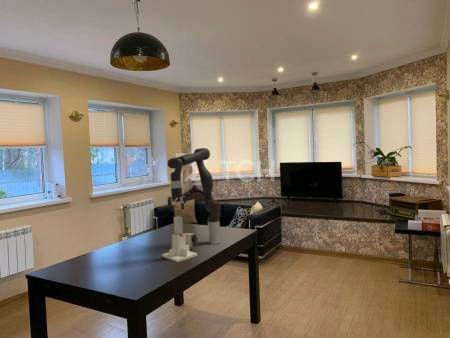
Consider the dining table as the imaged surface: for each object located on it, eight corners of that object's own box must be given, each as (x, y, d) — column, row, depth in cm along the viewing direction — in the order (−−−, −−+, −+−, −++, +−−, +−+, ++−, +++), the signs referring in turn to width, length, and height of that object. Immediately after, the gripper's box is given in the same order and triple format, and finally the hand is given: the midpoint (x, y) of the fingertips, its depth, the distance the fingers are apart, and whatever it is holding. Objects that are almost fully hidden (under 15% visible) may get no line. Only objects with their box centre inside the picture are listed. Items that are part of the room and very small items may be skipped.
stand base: (181, 250, 244) (180, 229, 244) (197, 255, 232) (196, 232, 231) (162, 256, 233) (160, 233, 232) (177, 262, 220) (176, 237, 219)
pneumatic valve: (193, 250, 244) (193, 234, 244) (181, 248, 251) (181, 232, 250) (198, 248, 249) (197, 232, 248) (186, 246, 256) (185, 230, 255)
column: (179, 243, 235) (178, 216, 234) (183, 244, 232) (182, 217, 231) (174, 245, 232) (173, 217, 231) (178, 246, 229) (177, 218, 228)
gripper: (181, 185, 238) (182, 208, 239) (164, 188, 228) (165, 211, 229) (187, 186, 232) (189, 209, 233) (171, 188, 222) (172, 212, 223)
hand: (177, 210), depth 231 cm, fingers open, 8 cm apart
